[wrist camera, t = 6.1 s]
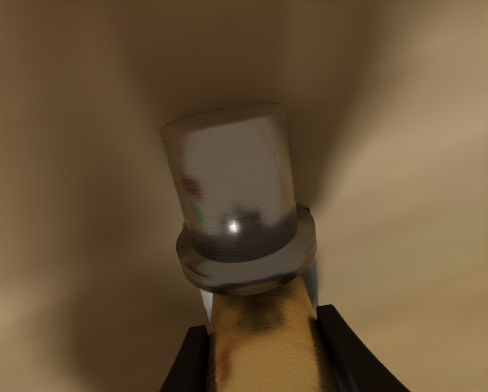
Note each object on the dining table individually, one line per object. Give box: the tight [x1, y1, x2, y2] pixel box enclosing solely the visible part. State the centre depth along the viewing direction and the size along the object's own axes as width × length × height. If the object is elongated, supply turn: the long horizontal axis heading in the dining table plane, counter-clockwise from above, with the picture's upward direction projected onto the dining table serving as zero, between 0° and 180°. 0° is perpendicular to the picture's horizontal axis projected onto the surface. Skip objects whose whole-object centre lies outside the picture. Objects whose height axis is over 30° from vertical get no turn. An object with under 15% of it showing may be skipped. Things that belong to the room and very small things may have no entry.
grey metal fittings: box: [159, 103, 318, 323], centre depth 13 cm, size 17×6×5 cm, turn 10°
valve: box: [205, 275, 341, 392], centre depth 10 cm, size 4×4×8 cm
